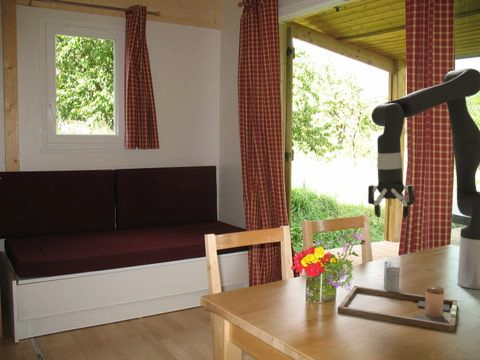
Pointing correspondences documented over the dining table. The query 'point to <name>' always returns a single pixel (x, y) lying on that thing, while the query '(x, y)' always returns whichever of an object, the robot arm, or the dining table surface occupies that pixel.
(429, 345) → the dining table surface
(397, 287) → the medicine box
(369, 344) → the dining table surface
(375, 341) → the dining table surface
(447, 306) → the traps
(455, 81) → the robot arm
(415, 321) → the box
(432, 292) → the terracotta jar
